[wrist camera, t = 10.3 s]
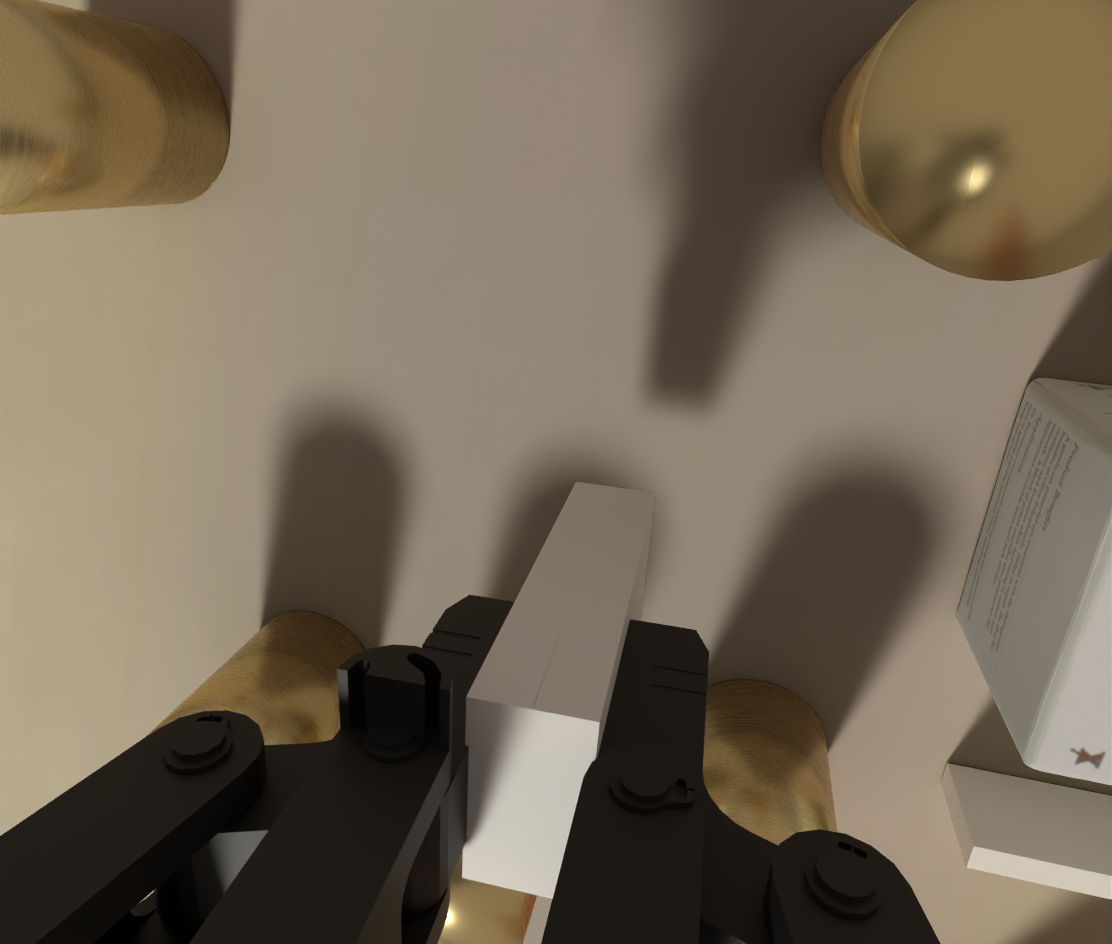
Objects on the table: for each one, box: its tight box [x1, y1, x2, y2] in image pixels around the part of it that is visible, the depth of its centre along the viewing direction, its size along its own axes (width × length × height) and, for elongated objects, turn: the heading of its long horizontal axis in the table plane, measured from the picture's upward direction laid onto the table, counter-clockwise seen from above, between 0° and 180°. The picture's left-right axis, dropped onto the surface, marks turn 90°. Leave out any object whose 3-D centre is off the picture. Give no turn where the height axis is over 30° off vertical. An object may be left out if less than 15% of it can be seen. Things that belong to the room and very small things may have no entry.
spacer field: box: [0, 0, 1112, 944], centre depth 16 cm, size 20×19×6 cm
